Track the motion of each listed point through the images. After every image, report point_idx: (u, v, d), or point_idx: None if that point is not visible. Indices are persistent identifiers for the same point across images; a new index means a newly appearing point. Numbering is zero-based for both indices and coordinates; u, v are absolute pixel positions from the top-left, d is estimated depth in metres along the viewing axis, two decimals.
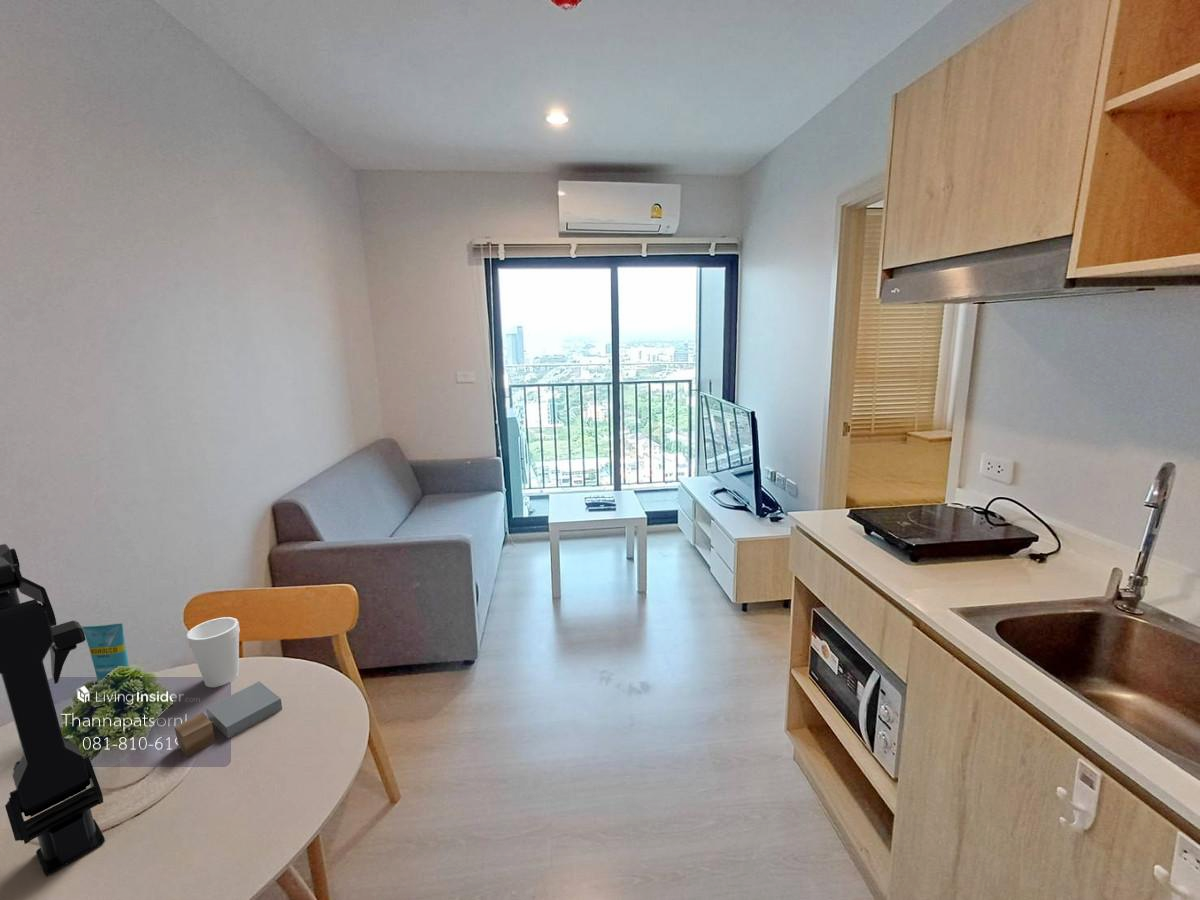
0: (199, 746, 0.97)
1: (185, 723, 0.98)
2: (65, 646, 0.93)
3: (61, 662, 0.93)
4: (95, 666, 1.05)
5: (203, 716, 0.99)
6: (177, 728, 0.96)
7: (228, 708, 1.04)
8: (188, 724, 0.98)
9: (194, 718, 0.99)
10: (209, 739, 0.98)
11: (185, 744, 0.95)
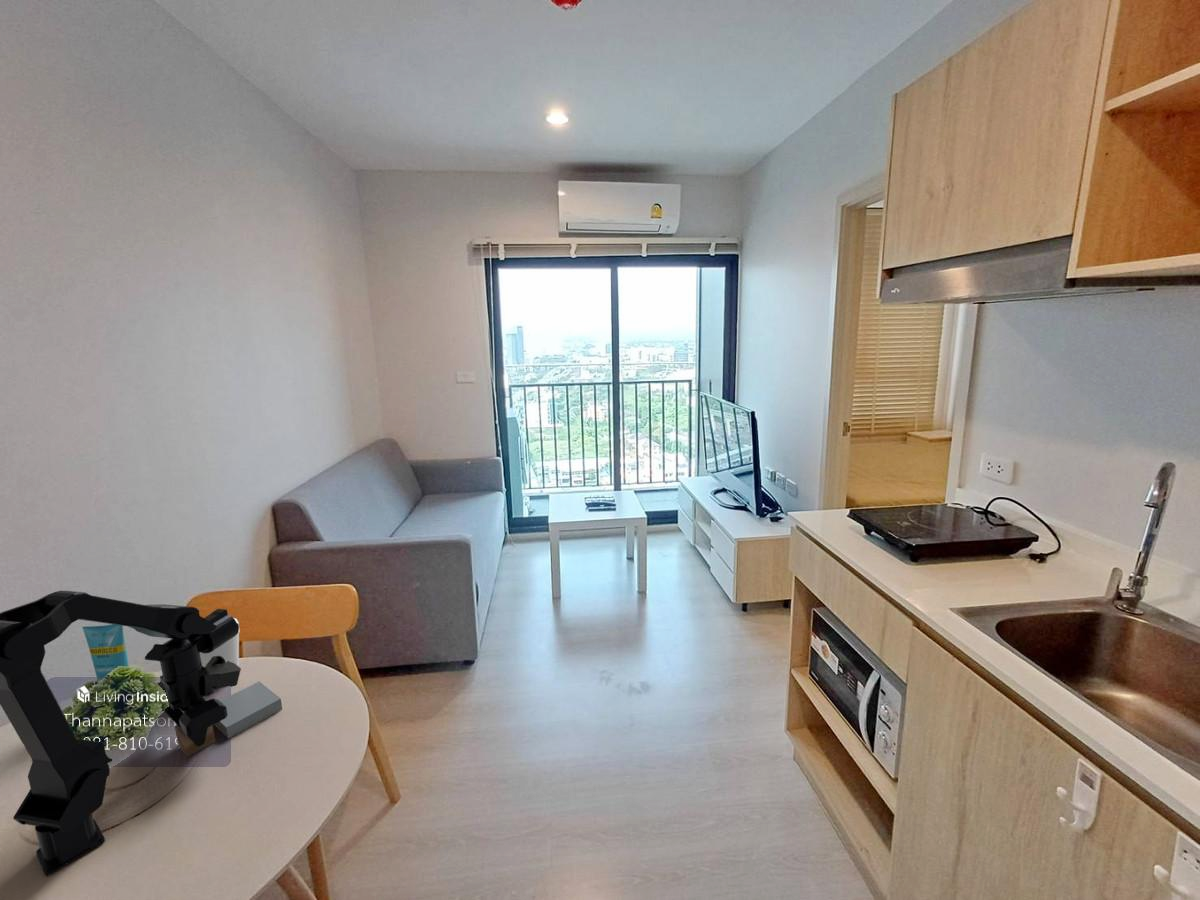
0: None
1: None
2: (182, 729, 0.90)
3: None
4: (95, 666, 1.05)
5: None
6: (177, 727, 0.96)
7: (228, 708, 1.04)
8: None
9: None
10: (209, 738, 0.98)
11: (185, 743, 0.95)
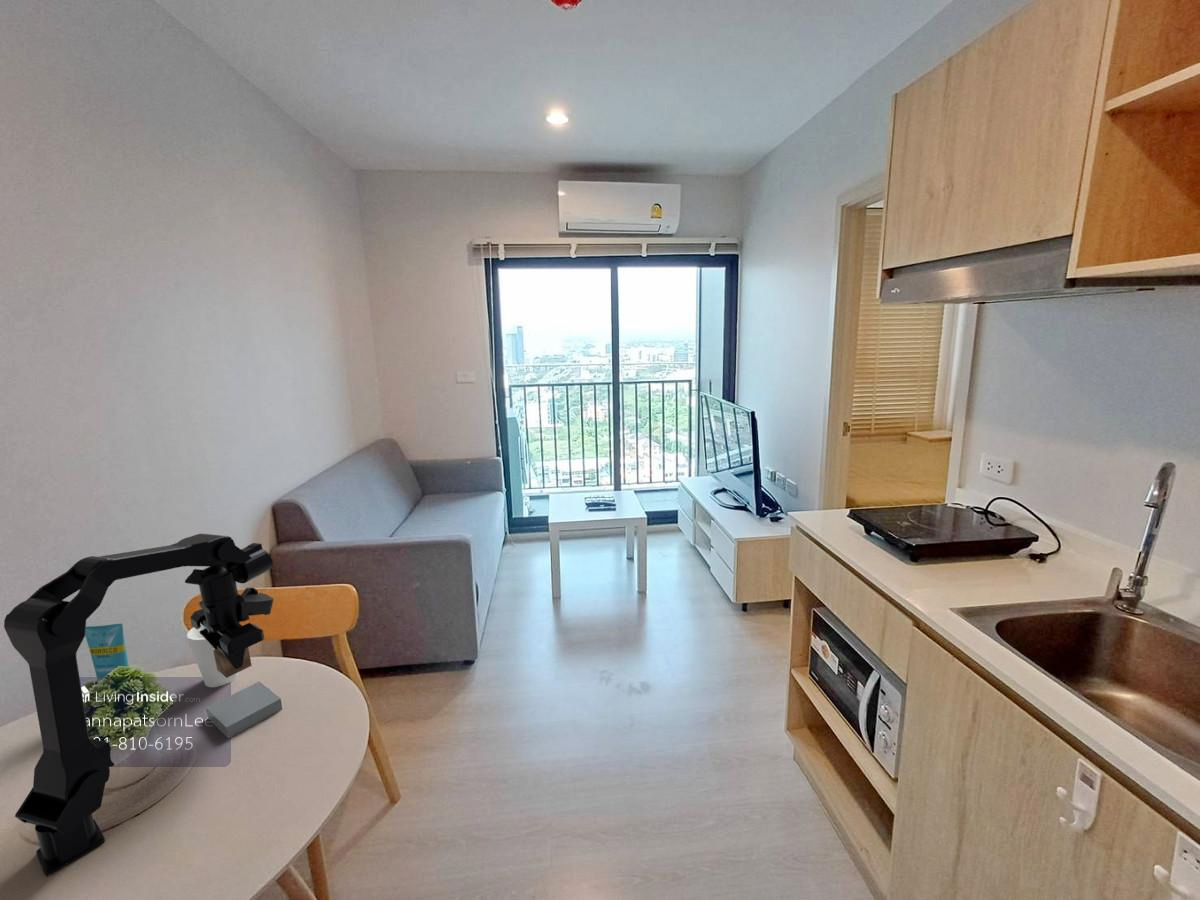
0: None
1: None
2: (223, 649, 0.96)
3: (225, 655, 0.99)
4: (95, 666, 1.05)
5: None
6: (216, 651, 1.02)
7: (228, 708, 1.04)
8: None
9: None
10: (246, 662, 1.03)
11: (224, 665, 1.00)
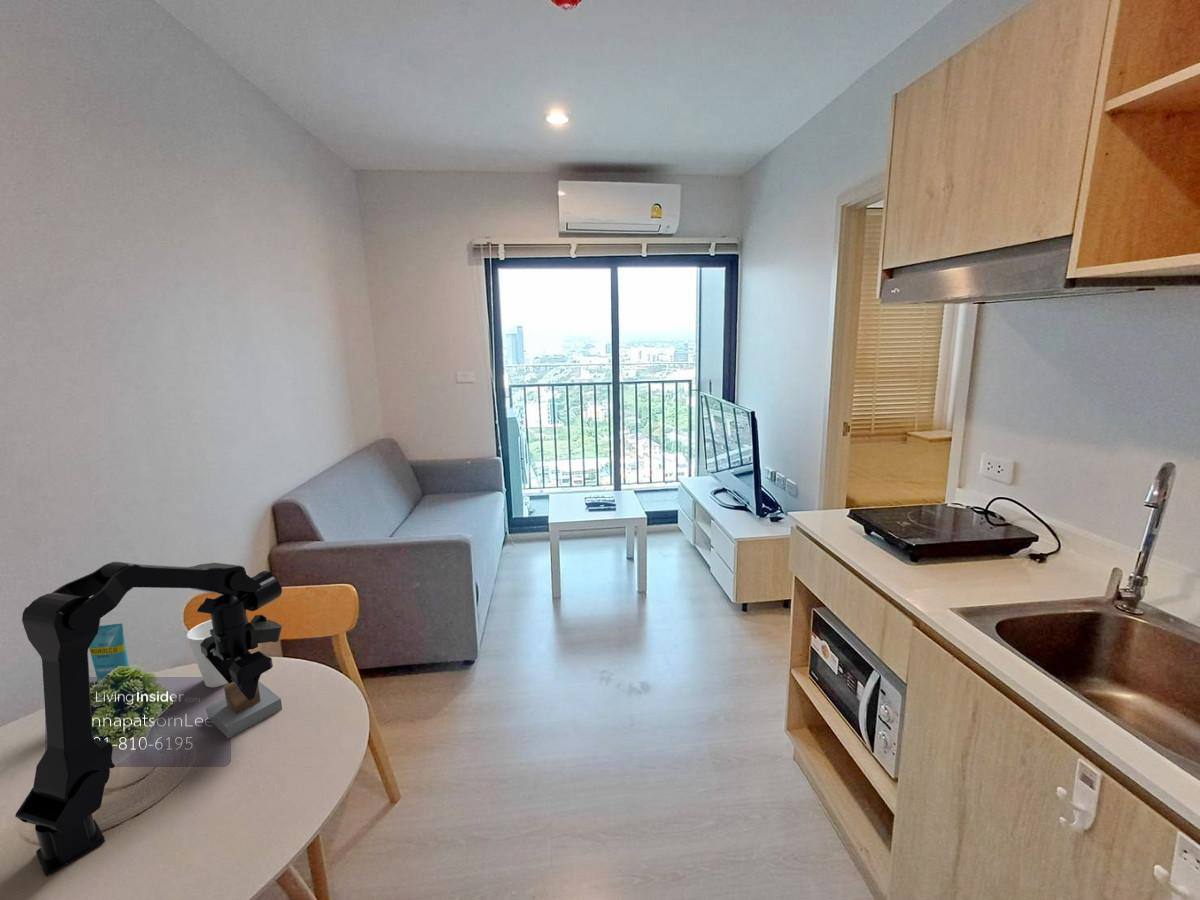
0: (246, 704, 1.04)
1: (233, 683, 1.05)
2: (232, 677, 0.98)
3: (238, 687, 0.99)
4: (95, 666, 1.05)
5: None
6: (226, 687, 1.04)
7: (228, 708, 1.04)
8: None
9: None
10: (255, 698, 1.06)
11: (234, 701, 1.02)
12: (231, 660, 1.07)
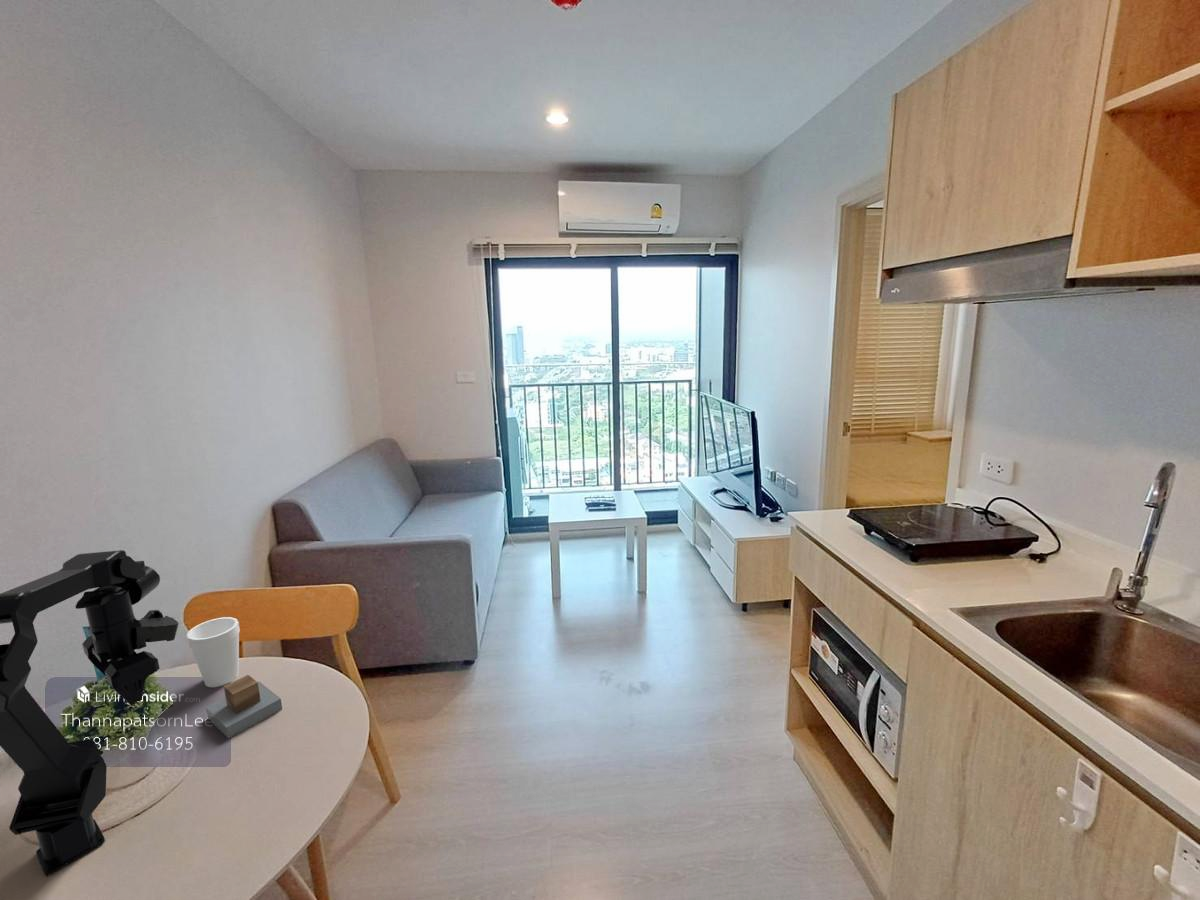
0: (246, 704, 1.04)
1: (233, 683, 1.05)
2: (108, 681, 0.85)
3: None
4: (95, 666, 1.05)
5: (249, 677, 1.07)
6: (226, 687, 1.04)
7: (228, 708, 1.04)
8: (236, 683, 1.05)
9: (241, 678, 1.07)
10: (255, 698, 1.06)
11: (234, 701, 1.02)
12: None
